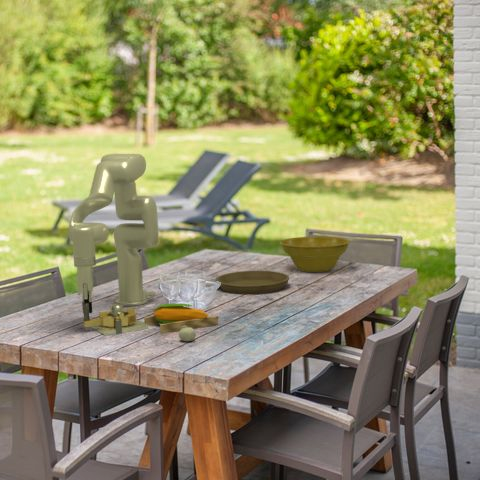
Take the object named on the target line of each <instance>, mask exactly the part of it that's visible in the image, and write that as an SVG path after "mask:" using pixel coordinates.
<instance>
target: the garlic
mask: <svg viewBox="0 0 480 480" xmlns="http://www.w3.org/2000/svg"><path fill="white" fill-rule="evenodd" d="M183 327H186V328H183ZM182 328H183V329H181V330H180V331H178V338H179V339H180V340H181V341H183V342H188V343H189V342H193V341H194V340H195V339H196V337H197V336H196V335H197V334H196V331H195V328H194V329H192V328H190V327H187V326H185V325H184V326H182Z"/></svg>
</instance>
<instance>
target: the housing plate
mask: <svg viewBox="0 0 480 480" xmlns="http://www.w3.org/2000/svg"><path fill="white" fill-rule="evenodd" d="M110 306H111V307H110V311H112V317H118V313H119V312H123V310H124V306H123V305H122V304H116V303H114V304H111V305H110ZM115 321H116V326H115V327H109V326H102V325H98V326H89V328H92V329H93V330H95V332H98V333H100V334H102V335H103V336H109V335H115V334H116V335H118V334H123V333H130V332H136V331H143V330H147V329H149V326H148V324H146V323H145V322H144V321H141V320H139V319H137V318H136V323H134V324H131V325H128V326H122V320H121V319H117V320H115Z"/></svg>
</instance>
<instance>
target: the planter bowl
mask: <svg viewBox="0 0 480 480" xmlns="http://www.w3.org/2000/svg"><path fill="white" fill-rule="evenodd" d="M350 243H351V240H350V239H347V238H343V237H336V236H301V237H291V238H290V237H289V238H286V239H285V238H284V239H282V240H280V241H279V243H278V244H280V245H281V246H282V248H283V251H284V252H285V254H287V255H288V256H290V258H291V260H292V262H293V264H294V266H295V267H296V269H298V270H299V271H300V272H307V273H323V272H324V273H325V272H329V271H331V270H332V269H333V268H335V266H337V263H338V261H339V260H340V257H341V256H342V254H344V253H345V252H346V250H347V248H348V247H349V244H350Z"/></svg>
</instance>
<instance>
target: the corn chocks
mask: <svg viewBox="0 0 480 480" xmlns="http://www.w3.org/2000/svg"><path fill="white" fill-rule="evenodd" d="M196 309H197V308H196ZM197 310H202V309H200V308H198V309H197ZM143 318H144V320H143V322H144V323H146V324H148V327H150V326H155V325H159V333H160V334H161V335H163V334H169V333H175V332H179V331H180V330H181V329H183V328H186V327H183V328H182V326H184V325H185V326H187V327H190V328H192V329H194V330H195V329H199V328H205V327H212V326H213V327H214V326H218V325H219V316H218V315H212V316H207V318H203V319H192V320H185V321H179V322H172V323H166V324H165V323H162V322H160V321H158V320H157V319H156V318H155V317H154V315H151V316H144V317H143Z"/></svg>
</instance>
